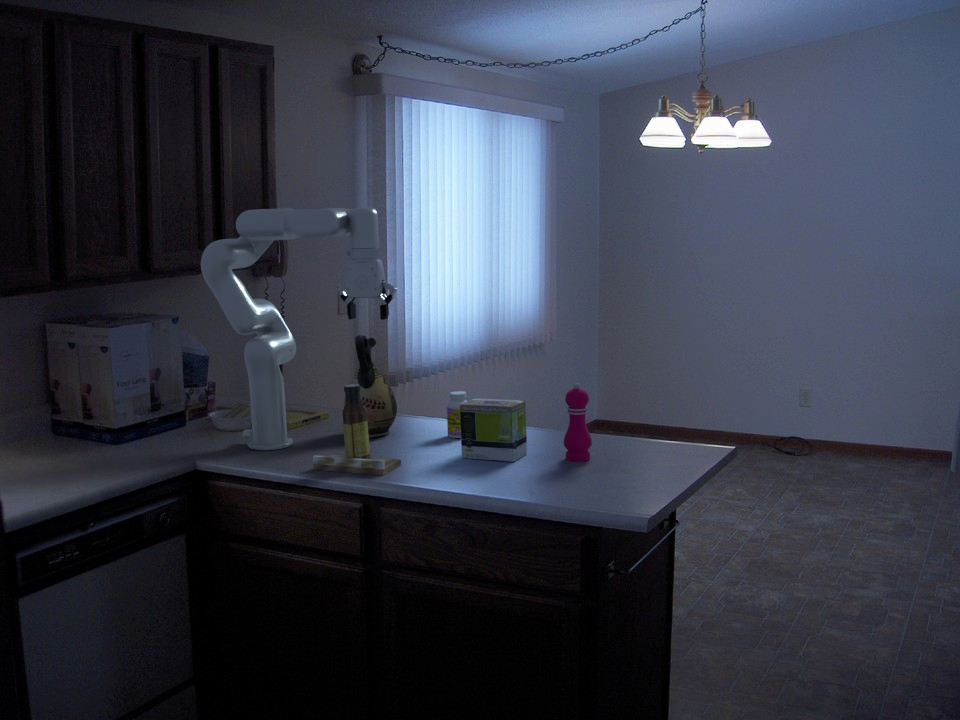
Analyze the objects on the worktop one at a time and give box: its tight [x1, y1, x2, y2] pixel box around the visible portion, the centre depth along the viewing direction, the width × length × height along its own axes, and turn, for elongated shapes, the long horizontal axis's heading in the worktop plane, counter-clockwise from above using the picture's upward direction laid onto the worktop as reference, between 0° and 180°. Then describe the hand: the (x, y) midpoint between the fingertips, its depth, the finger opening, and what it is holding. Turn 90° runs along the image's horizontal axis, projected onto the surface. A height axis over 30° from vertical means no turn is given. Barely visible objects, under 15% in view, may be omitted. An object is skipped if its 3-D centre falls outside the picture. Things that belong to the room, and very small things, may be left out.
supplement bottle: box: [446, 390, 469, 439], centre depth 288 cm, size 7×7×13 cm
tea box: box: [460, 397, 528, 463], centre depth 264 cm, size 15×10×15 cm, turn 65°
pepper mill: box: [563, 382, 593, 463], centre depth 258 cm, size 7×7×20 cm
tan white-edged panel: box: [312, 454, 402, 476], centre depth 257 cm, size 20×10×4 cm, turn 68°
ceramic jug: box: [343, 334, 398, 439], centre depth 291 cm, size 17×15×30 cm
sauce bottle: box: [341, 383, 371, 459], centre depth 256 cm, size 7×6×20 cm
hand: (368, 319), depth 269 cm, fingers open, 9 cm apart
